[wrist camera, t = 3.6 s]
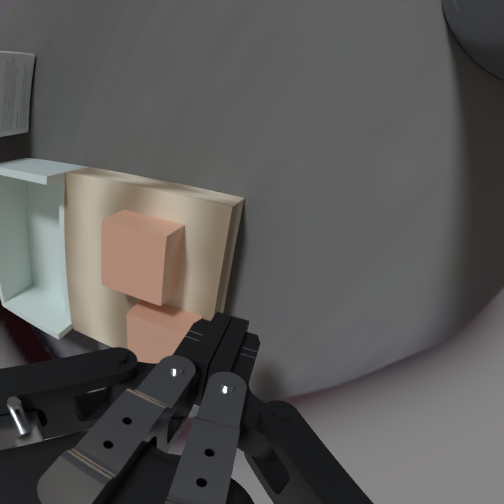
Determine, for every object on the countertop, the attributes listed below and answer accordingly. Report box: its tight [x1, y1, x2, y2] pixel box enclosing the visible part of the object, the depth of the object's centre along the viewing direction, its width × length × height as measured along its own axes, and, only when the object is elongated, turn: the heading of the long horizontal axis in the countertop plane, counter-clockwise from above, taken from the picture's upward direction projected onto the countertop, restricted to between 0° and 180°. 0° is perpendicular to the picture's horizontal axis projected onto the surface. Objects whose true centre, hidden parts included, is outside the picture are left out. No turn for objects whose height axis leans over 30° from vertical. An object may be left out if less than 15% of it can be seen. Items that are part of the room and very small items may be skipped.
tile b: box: [127, 300, 203, 363], centre depth 21 cm, size 4×4×2 cm
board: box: [64, 167, 244, 349], centre depth 23 cm, size 13×14×3 cm
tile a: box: [101, 210, 185, 306], centre depth 19 cm, size 4×4×2 cm
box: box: [0, 158, 88, 340], centre depth 23 cm, size 9×14×5 cm, turn 169°
